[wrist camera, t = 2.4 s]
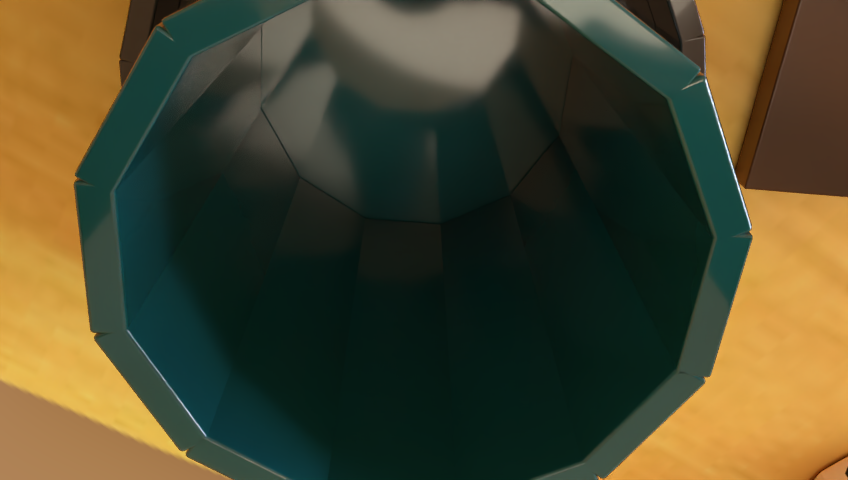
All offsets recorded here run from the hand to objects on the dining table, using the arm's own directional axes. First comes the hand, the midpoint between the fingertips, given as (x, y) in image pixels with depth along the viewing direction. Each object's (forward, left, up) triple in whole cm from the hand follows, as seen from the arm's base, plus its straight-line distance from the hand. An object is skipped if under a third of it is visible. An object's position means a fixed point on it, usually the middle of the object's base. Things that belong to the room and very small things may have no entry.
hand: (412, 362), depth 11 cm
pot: (0, 0, -14) cm, 14 cm away
